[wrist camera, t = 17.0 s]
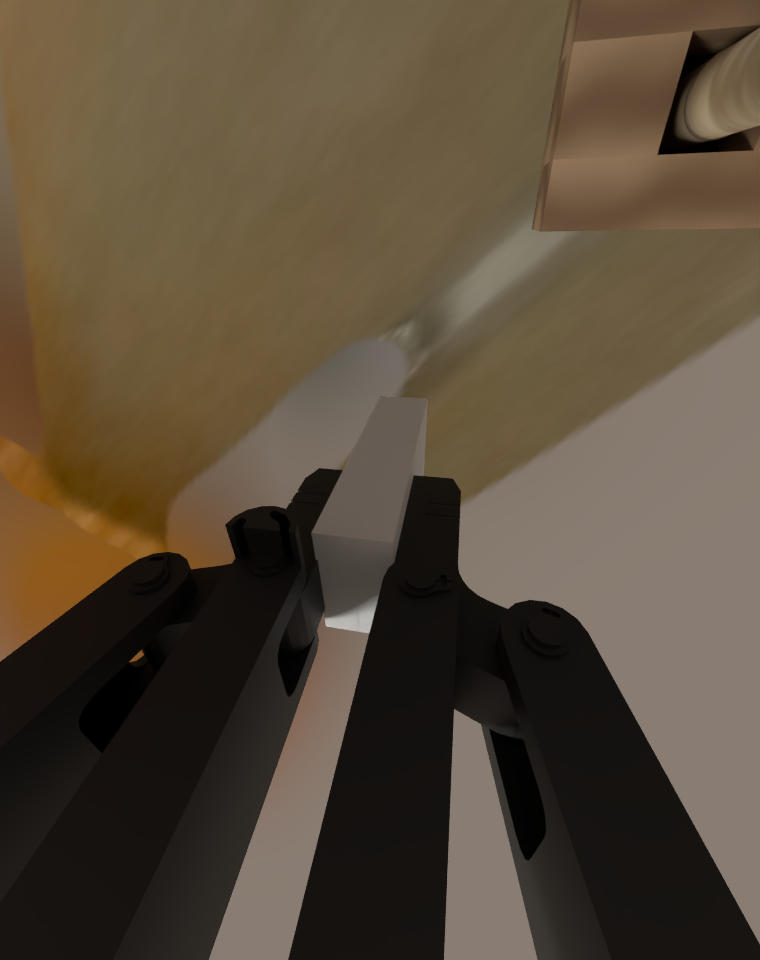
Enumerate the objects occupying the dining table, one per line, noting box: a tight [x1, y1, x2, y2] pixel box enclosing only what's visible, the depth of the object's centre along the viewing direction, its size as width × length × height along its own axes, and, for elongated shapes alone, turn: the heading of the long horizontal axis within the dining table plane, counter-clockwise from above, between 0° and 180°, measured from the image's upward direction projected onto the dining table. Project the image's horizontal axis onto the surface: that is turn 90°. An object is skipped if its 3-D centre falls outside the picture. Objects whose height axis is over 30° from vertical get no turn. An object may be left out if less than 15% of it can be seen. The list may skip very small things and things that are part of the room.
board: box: [532, 0, 760, 231], centre depth 22 cm, size 12×16×4 cm
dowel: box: [660, 28, 760, 150], centre depth 19 cm, size 4×4×14 cm
